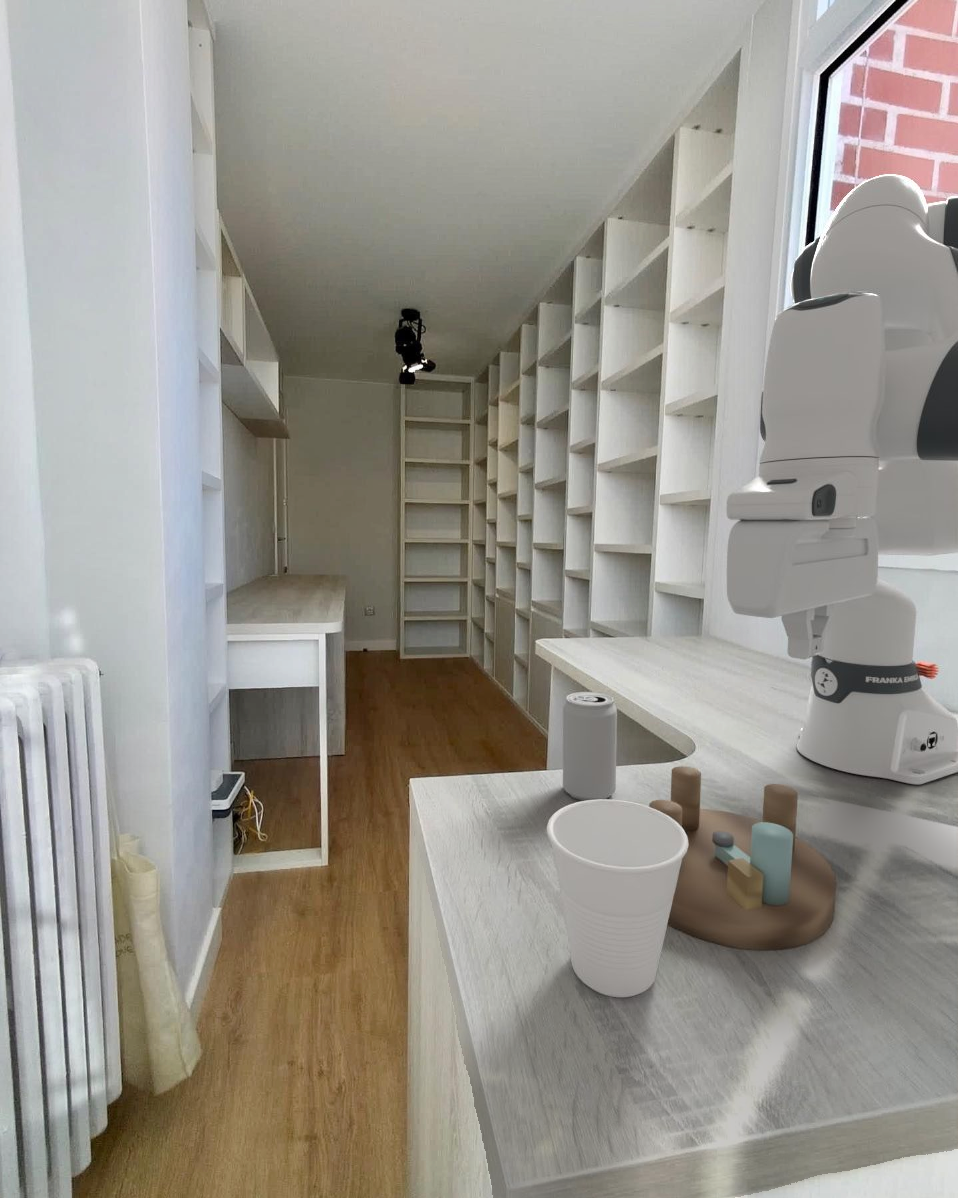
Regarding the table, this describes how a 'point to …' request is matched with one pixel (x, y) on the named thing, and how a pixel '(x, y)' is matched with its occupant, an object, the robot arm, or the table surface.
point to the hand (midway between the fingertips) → (805, 656)
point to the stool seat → (744, 875)
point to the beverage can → (589, 745)
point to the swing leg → (763, 857)
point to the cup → (616, 889)
